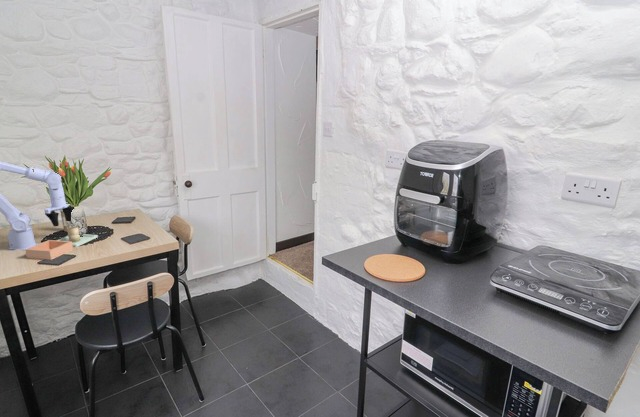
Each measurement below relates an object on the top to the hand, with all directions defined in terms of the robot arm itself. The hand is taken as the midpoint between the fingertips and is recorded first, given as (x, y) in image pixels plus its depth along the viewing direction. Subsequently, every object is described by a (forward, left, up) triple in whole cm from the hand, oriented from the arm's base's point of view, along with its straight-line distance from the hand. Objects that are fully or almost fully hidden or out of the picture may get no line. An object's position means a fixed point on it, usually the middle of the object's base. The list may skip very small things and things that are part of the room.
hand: (62, 223), depth 174 cm
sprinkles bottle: (-12, +15, -10) cm, 21 cm away
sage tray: (+5, 0, -9) cm, 11 cm away
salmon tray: (+7, -16, -9) cm, 20 cm away
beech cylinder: (+5, 0, -9) cm, 10 cm away
